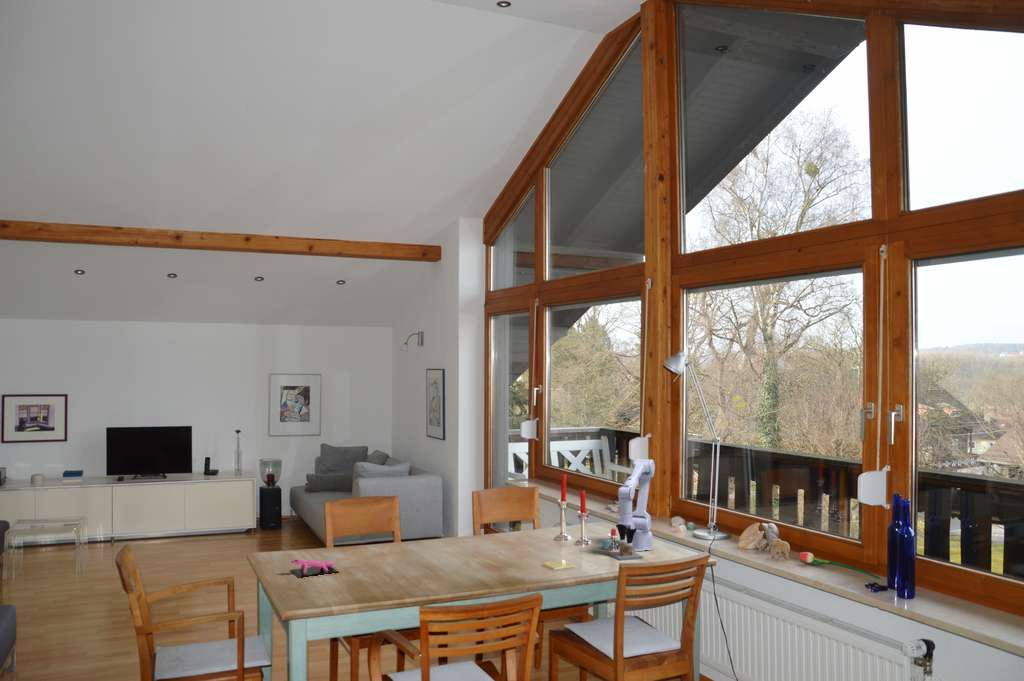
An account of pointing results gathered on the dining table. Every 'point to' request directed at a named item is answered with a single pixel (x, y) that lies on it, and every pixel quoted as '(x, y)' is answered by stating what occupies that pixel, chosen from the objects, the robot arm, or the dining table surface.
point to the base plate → (621, 557)
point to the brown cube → (625, 550)
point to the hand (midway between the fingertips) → (626, 541)
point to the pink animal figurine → (313, 568)
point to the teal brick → (606, 543)
